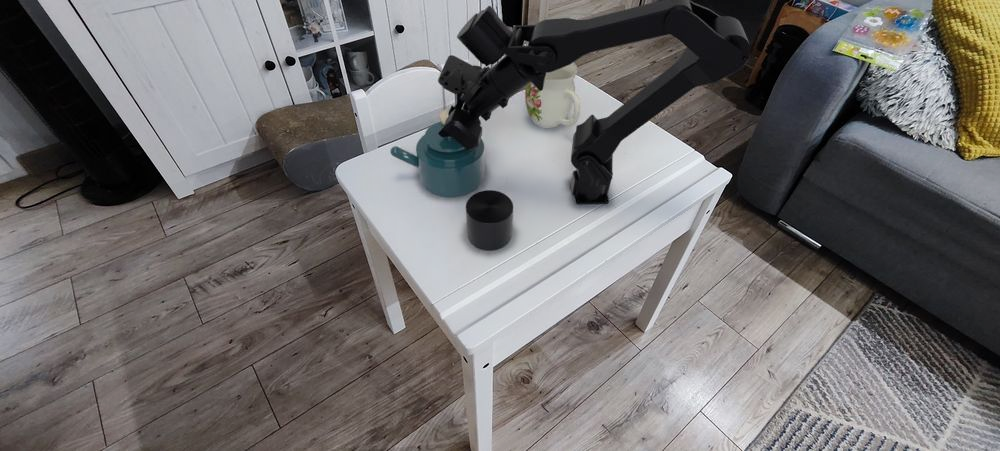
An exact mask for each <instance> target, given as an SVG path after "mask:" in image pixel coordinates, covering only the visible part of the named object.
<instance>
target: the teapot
mask: <svg viewBox="0 0 1000 451" xmlns="http://www.w3.org/2000/svg"><path fill="white" fill-rule="evenodd" d="M389 153H390V154H391V156H392V157H394V158H396V159H398V160H399V161H402V162H404V163H406V164H409V165H410V166H413V167H415V168H417V169H418V174H419V180H420V183H421V185H422V187H423V188H424V189H425V190H426V191H427V192H428V193H431V194H433V195H435V196H438V197H443V198H460V197H463V196H468V195H469V194H471V193H473V192H475V191H476V190H478V189H479V188H480V187H481V186H482V185H483V183H484V181H485V180H484V179H485V142H484V140H483V139H482V138H481V139H480V143H479V146H477V147H476V148H475V149H473V150H472V151H467V150H466V149H463V150H461V151H457V152H440V151H436V150H434V149H432V148H431V147H429V146H428V145H427V143H426V141H425V134H423V135H422V136H421V137H420V138H419V139H418V141H417V143H416V146H415V153H416V155H415V154H414V153H411V152H409V151H408V150H406V149H403V148H402V147H399V146H392V147H391V148H390V152H389Z"/></svg>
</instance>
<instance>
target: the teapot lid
mask: <svg viewBox="0 0 1000 451" xmlns="http://www.w3.org/2000/svg"><path fill="white" fill-rule="evenodd" d="M449 110H450V108H445V109H443V110H441V112H440V115H439V120H440V121H438V122H435V123H433V124H431V125H430V126H429V127H428V128H427V129H426V131H425V133H424V135H425V141H426V143H427V145H428V146H429V147H431V148H432V149H434V150H436V151H440V152H457V151H461V150H463V149H465V148H464V147H463V146H462V145H461V144H459V143H458V142H457V141H456V140H455V139H454V138H453V137H452V136H450V137H441V136H440V135H439V134H438V132H439V131H440V130H441V128H442V127H443V126H444V124H445V122H446V119H447V117H448V113H449Z"/></svg>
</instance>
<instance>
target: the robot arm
mask: <svg viewBox="0 0 1000 451" xmlns="http://www.w3.org/2000/svg"><path fill="white" fill-rule="evenodd" d="M669 35H671V36H672V37H674V38H676V39H677V40H679V42H681V43H682V44H683V45H684V46H685V47H686V48H685V49H684V50H683V53H682V54H681V55H680V57H679V59H677V61H676V62H675V63H673V64H672V65H671V66H670V67H668V68H667V69H666V70H664V71H663V72H662V73H661V74H659V75H658V76H657V77H656V78H655V79H653V80H652V81H651V82H650V83H648V84H646V86H645V87H644V88H642V89H641V90H639V91H638V92H637V93H636V94H635V95H633V96H632V97H630V99H628V100H627V101H626V102H625V103H623V104H622V105H621V106H619V107H618V108H617V109H616V110H614V111H613V112H612V113H611V114H609V115H608V116H607V117H602V118H597V117H596V116H595V114H590V115H589V116H588V117H587V118H586V119H585V121H584V122H582V123H580V124H577V125H576V126H575V127H576V129H575V132H574V133H573V137H572V144H571V151H570V155H571V156H570V162H571V165H572V166H573V167H574V168H575V170H573V171H572V175H571V179H570V185H569V187H570V192H571V195H572V196H573V198H574V203H575V204H576V205H608V204H609V203H610V198H609V195H608V194H609V190H610V187H611V183H612V180H613V177H614V172H613V168H614V167H613V166H614V165H613V162H614V161H613V160H614V159H613V158H614V153H615V152H616V150H617V149H618V147H619V146H620V144H621V143H622V141H623V140H625V139H626V138H628V137H629V136H630V135H632V134H633V133H635V132H636V131H638V130H639V129H640V128H641V127H643V126H644V125H646V124H647V123H649V122H650V121H651V120H653V119H654V118H655V117H657V116H658V115H659V114H661V113H662V112H664V111H665V110H666V109H667V108H669V107H670V106H671V105H673V104H674V103H675V102H678V101H679V100H680V99H681V98H682V97H684V96H685V95H686V94H688V93H689V92H691V91H692V90H694V89H696V88H697V87H702V86H706V85H710V84H716V83H718V82H720V81H722V80H724V79H725V78H727V77H729V76H731V75H733V74H735V73H737V72H738V71H740V70H741V69H742V68H743V67H744V66H745V65H746V64H747V63H748V61H749V58H750V54H751V44H750V42H749V40H748V37H747V34H746V32H745V30H744V27H743V25H742V23H741V21H740V20H739V19H737V18H736V17H733V16H729V15H727V16H725V15H724V16H721V15H719V14H717V13H716V12H715V11H713V10H712V9H710V8H708V7H705V6H703V5H701V4H698V3H695V2H693V1H692V0H657V1H653V2H650V3H646V4H642V5H638V6H633V7H630V8H626V9H622V10H617V11H615V12H610V13H606V14H603V15H599V16H596V17H592V18H586V19H576V18H569V17H561V18H560V17H559V18H549V19H548V18H547V19H543V20H541V21H539V22H537V23H536V24H524V25H514V26H513V27H512V30H511V29H510V28H509V27H508V25H506V24H505V22H504V21H502V18H500V17H499V15H498V14H497V12H496V10H495V9H494V8H493V7H492V5H488V6H486V8H484V9H481V10H480V11H479V12H478V13H474V14H473V16H471V17H470V19H469V20H468V21H467V22H466V23H465V24H464V26H462V28H461V29H460V30H459V32H458V34H457V35H456V38H457V40H458V41H459V42H460V43H461V44H462V45H463V46H464V47H465V48H466V49H467V50H468V51H469V52H470V53H471V54H472V55H473V57H474V58H476V59H477V60H478V61H479V62H480V64H481V65H484V66H483V67H482V66H481V65H472V64H470V63H469V62H467V61H464V60H463V59H462V58H459V57H458V56H456V55H453V54H449V55H448V56H447V59H446V61H445V62H444V64H443V67H442V70H441V72H440V74H439V77H438V79H437V83H438V84H439V85H440V86H441V87H442V88H443V89H444V90H446V91H448V92H450V93H452V94H454V95H456V103H455V104H454V105H451V106H450V108H449V109H450V110H449V113H448V117H447V119H446V122H445V124H444V126H443V127H442V128H441V130H440V131H439V132H438V134H439V135H440V136H441V137H450V136H452V137H453V138H454V139H455V140H456V141H457V142H458V143H459V144H461V145H462V146H463V147H464V148H465V149H466V150H467V151H472V150H473V149H475V148H476V147H477V146H479V143H480V139H482V136H483V126H482V125H481V124H482V122H481V119H480V118H482V119H483V120H484V121H485V122H487V121H488V120H490V119H491V117H492V113H493V112H494V111H495V110H496V109H498V108H499V107H501V108H502V109H504V108H506V107H507V106H508V105H509V101H510V99H512V98H513V97H514V96H515V95H517V93H519V92H520V91H521V90H523V89H525V88H526V86H527V85H528V84H529V83H531V82H532V83H533V84H534V85H535V86H536V88H537V89H538V90H539V91H542V90H543V87H544V82H545V76H546V73H550V72H553V71H556V70H558V69H560V68H563V67H565V66H568V65H570V64H572V63H573V62H574V63H575V62H577V61H578V60H579V59H581V58H582V57H584V56H586V55H588V54H591V53H595V52H600V51H604V50H608V49H609V50H610V49H612V48H618V47H621V46H624V45H629V44H634V43H638V42H642V41H647V40H652V39H655V38H660V37H665V36H669ZM525 42H528V43H527V45H524V43H525ZM490 65H493V66H492V67H490Z"/></svg>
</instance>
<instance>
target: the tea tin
mask: <svg viewBox="0 0 1000 451" xmlns="http://www.w3.org/2000/svg"><path fill="white" fill-rule="evenodd" d="M465 203H466V204H465V216H466V236H467V239H468V241H469V243H470V244H471V245H472V246H473V247H475V248H476V249H479V250H481V251H487V252H492V251H493V252H495V251H498V250H501V249H503V248H505V247H506V246H507V245H508V244H509V243H510V242H511V239H512V235H513V220H514V219H513V218H514V203H513V201H512V199H511V198H510V197H509V196H508V195H507V194H505V193H503V192H502V191H499V190H495V189H494V190H492V189H485V190H481V191H478V192H475V193H474V194H473V195H472V194H471V196H470V197H468V199H467V201H466V202H465Z"/></svg>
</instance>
